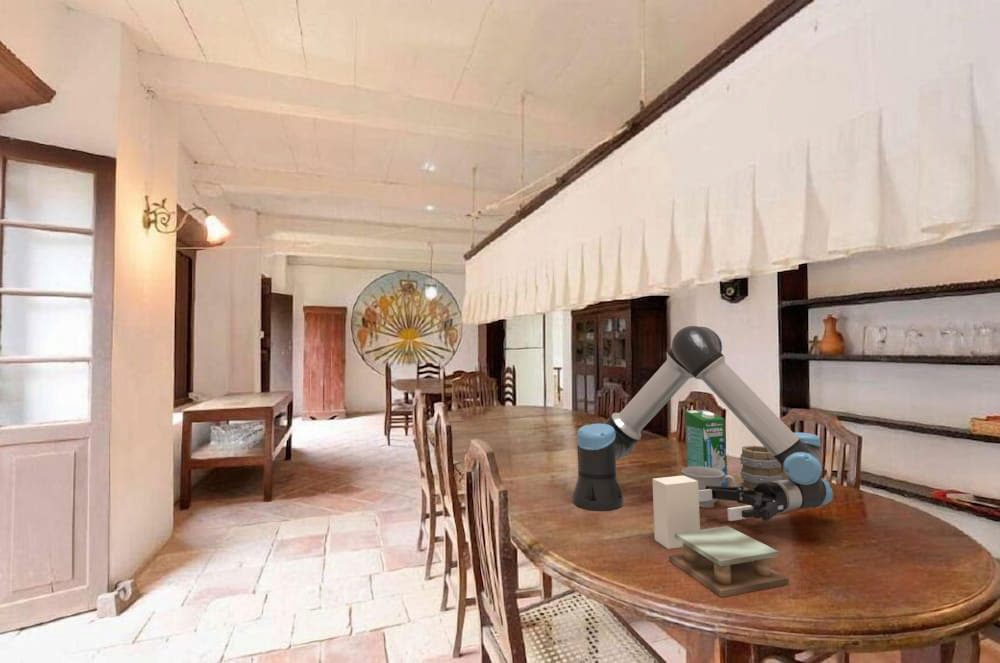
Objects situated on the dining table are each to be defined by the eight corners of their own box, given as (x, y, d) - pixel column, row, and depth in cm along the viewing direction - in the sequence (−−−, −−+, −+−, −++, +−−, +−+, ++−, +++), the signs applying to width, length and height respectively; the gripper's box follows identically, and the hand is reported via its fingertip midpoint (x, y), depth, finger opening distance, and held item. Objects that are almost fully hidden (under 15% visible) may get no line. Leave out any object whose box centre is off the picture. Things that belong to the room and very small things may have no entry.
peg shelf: (669, 560, 102) (668, 532, 102) (728, 550, 106) (727, 523, 106) (721, 597, 86) (719, 564, 87) (788, 584, 90) (787, 552, 91)
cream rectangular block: (654, 539, 113) (652, 478, 114) (685, 535, 115) (683, 475, 116) (668, 548, 108) (665, 484, 108) (700, 543, 110) (698, 481, 111)
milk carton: (705, 488, 153) (702, 413, 154) (687, 481, 162) (684, 410, 163) (727, 485, 156) (724, 412, 157) (708, 478, 164) (705, 409, 165)
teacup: (732, 516, 127) (731, 480, 127) (677, 506, 136) (676, 472, 136) (740, 504, 137) (739, 470, 137) (688, 495, 146) (687, 464, 146)
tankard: (762, 500, 140) (759, 451, 140) (730, 488, 152) (729, 443, 152) (812, 493, 145) (810, 446, 146) (778, 483, 157) (776, 439, 158)
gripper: (822, 528, 107) (748, 540, 102) (740, 496, 131) (677, 504, 126) (820, 496, 108) (747, 506, 102) (739, 470, 132) (676, 477, 126)
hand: (708, 505), depth 114 cm, fingers open, 13 cm apart
